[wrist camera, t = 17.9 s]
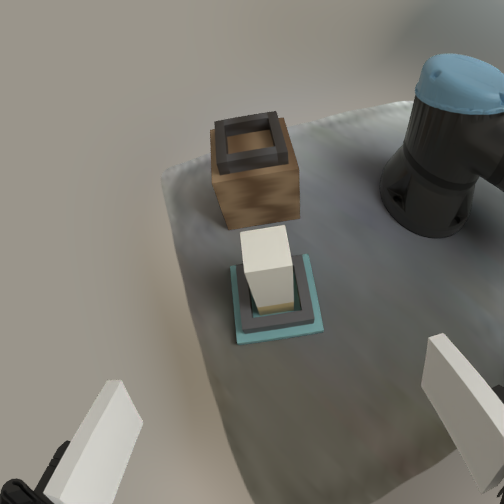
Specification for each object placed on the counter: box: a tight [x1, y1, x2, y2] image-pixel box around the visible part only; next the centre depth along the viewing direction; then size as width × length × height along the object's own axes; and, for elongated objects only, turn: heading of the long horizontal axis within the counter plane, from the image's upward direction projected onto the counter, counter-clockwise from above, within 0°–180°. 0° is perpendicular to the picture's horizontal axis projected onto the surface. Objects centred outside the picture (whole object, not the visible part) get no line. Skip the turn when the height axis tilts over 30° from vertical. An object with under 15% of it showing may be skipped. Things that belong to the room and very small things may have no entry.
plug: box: [240, 225, 294, 316], centre depth 32 cm, size 4×4×12 cm
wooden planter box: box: [210, 111, 300, 230], centre depth 41 cm, size 10×10×12 cm
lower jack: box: [230, 254, 324, 345], centre depth 37 cm, size 10×10×3 cm
